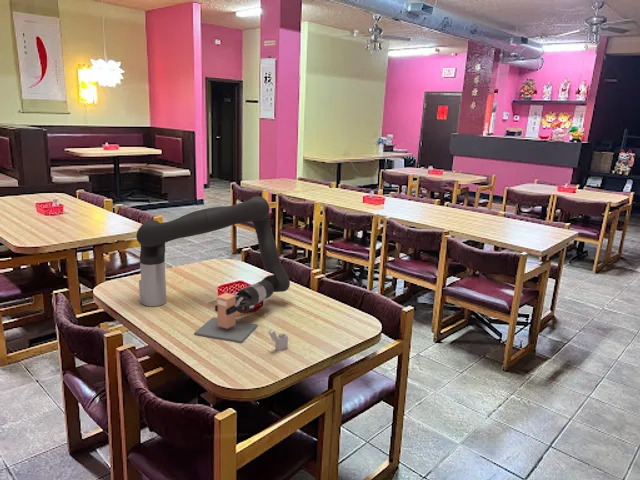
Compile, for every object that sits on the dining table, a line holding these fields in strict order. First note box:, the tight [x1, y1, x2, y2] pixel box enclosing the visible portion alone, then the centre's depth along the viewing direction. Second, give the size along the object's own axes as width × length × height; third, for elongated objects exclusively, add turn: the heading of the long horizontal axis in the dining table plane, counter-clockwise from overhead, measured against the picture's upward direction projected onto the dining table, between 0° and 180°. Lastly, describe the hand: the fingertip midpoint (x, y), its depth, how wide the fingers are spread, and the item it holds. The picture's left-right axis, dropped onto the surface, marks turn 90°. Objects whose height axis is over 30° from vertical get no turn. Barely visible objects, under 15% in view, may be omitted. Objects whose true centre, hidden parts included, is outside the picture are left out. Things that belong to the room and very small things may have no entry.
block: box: [216, 292, 237, 329], centre depth 171 cm, size 4×5×11 cm
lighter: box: [267, 328, 289, 352], centre depth 160 cm, size 7×2×8 cm, turn 132°
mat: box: [194, 316, 259, 344], centre depth 173 cm, size 18×14×1 cm
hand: (221, 310), depth 169 cm, fingers closed on block, 4 cm apart
